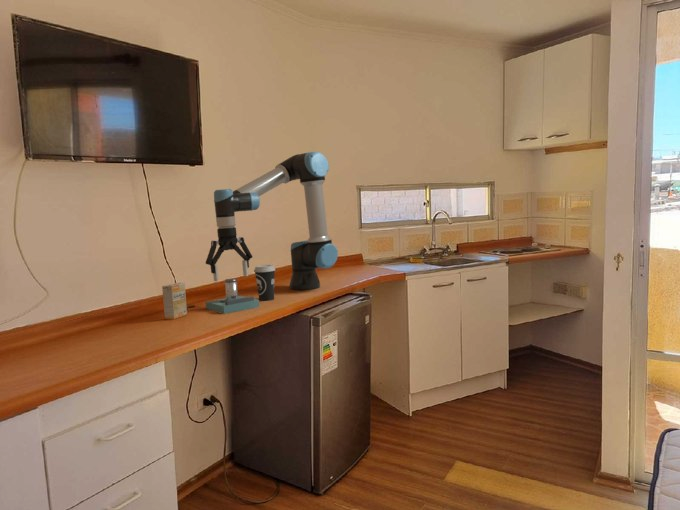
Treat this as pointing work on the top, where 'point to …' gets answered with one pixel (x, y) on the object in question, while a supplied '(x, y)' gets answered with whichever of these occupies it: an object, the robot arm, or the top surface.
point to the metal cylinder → (231, 289)
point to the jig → (232, 304)
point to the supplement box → (174, 300)
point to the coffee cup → (265, 281)
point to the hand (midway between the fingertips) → (231, 278)
